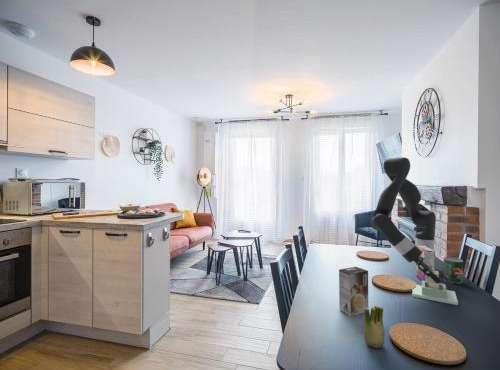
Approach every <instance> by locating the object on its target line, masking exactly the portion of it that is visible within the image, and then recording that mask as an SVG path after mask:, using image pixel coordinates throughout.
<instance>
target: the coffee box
mask: <svg viewBox="0 0 500 370" xmlns="http://www.w3.org/2000/svg"><path fill="white" fill-rule="evenodd" d="M338 283H339V284H338V286H339V287H338V297H339V298H338V300H339V302H338V305H339V309H340V311H341V312H342V311H343V313H344V312H345V314H346V315H347V314H348V316H349V315H350V316H349V317H353V316H352V315H355V316H358V315H361V314H365V308H368V309H369V270H367V269H364V268H361V267H357V266H351V267H347V268H339V269H338ZM357 314H358V315H357Z"/></svg>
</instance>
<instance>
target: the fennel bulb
mask: <svg viewBox="0 0 500 370" xmlns="http://www.w3.org/2000/svg"><path fill="white" fill-rule="evenodd" d="M383 317H384V308H383V307H382V306H378V305H374V306H373V307H371V308H370V309H369V307H368V308H365V313H364V327H363V329H364V330H363V335H364V342H365V343H366V345H367V346H369V347H371V348H374V349H382V348H383V347H384V343H385V326H384V323H383Z"/></svg>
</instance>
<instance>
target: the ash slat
mask: <svg viewBox="0 0 500 370" xmlns="http://www.w3.org/2000/svg"><path fill="white" fill-rule="evenodd" d="M433 272H434V274H435V275H436V276H437V277H438V278H439V276H440V273H439V271H438V270H435V271H433ZM429 288H434V289H439V283H438V284H437V283H436V282H435V281H434V280H433V279H432V278H431V277H429Z"/></svg>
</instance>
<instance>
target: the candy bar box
mask: <svg viewBox="0 0 500 370" xmlns="http://www.w3.org/2000/svg"><path fill="white" fill-rule="evenodd" d="M417 247H418V248H419V249H420V250H421V251H422V254H421V255H420V257H423V258H424V259H425V260H426V261H427V262H428V263H429V264H430V265H431V266H432V268H433V269H434V270H433V271H436V251H435V250H434V251H433V250H432V249H430V248H428V247H426V246H417ZM427 273H428V272H427ZM415 276H416V277H417V278H418V279H419V280H421V282H422V281H429V277H428V276H427V275H426V274H424V273H423V272H422V271H421V270H420V269H419V268H418V267H417V266H416V267H415Z"/></svg>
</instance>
